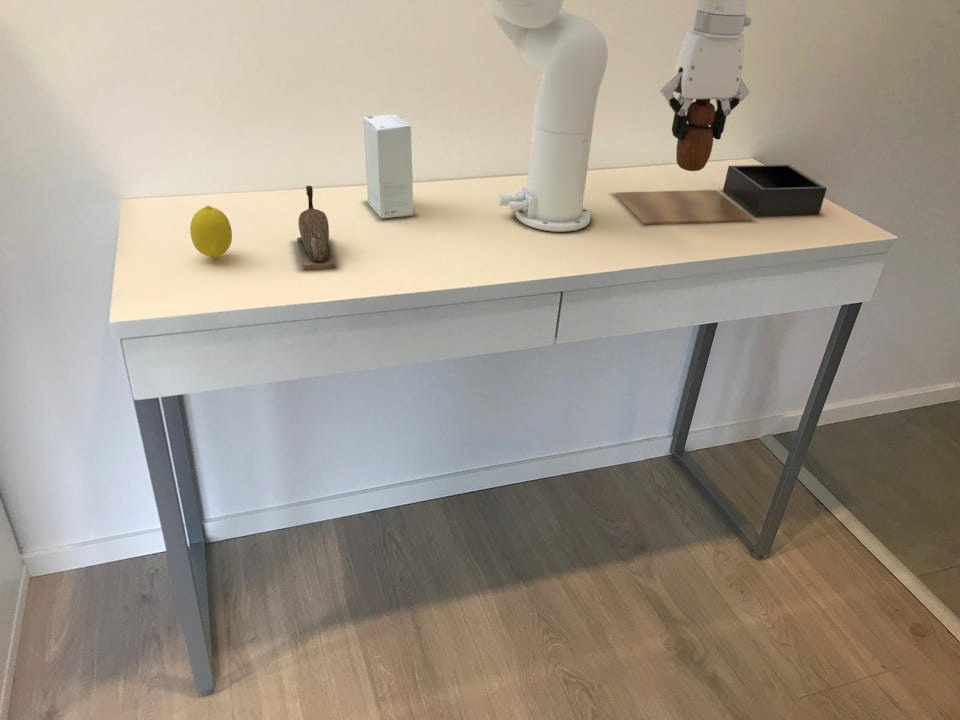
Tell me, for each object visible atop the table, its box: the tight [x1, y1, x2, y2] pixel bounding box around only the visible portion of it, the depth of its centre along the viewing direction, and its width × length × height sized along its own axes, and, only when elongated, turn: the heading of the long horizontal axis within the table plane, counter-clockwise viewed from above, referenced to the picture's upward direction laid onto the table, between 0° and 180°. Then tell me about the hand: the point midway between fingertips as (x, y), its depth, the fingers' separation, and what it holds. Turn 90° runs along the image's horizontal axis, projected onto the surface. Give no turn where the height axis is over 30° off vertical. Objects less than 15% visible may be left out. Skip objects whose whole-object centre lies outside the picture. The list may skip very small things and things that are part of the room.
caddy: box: [722, 164, 827, 218], centre depth 145 cm, size 13×13×5 cm
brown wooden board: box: [615, 189, 753, 225], centre depth 142 cm, size 20×14×1 cm
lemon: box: [189, 205, 233, 260], centre depth 112 cm, size 6×6×8 cm
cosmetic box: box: [362, 113, 414, 219], centre depth 130 cm, size 8×6×15 cm
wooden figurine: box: [675, 99, 716, 172], centre depth 134 cm, size 7×6×15 cm
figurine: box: [296, 185, 336, 271], centre depth 116 cm, size 14×4×9 cm, turn 16°
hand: (696, 136), depth 135 cm, fingers closed on wooden figurine, 6 cm apart
